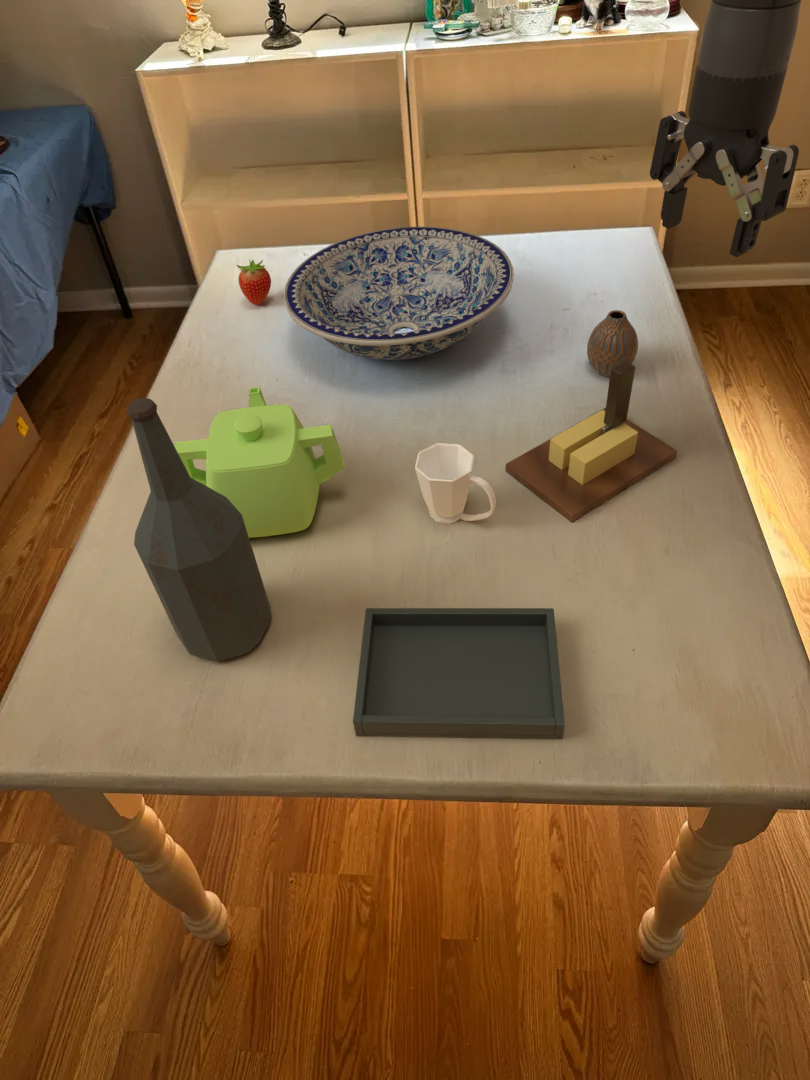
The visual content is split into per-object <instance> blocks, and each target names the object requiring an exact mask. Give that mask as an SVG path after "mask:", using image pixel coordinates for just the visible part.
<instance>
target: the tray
mask: <svg viewBox="0 0 810 1080" xmlns="http://www.w3.org/2000/svg"><path fill="white" fill-rule="evenodd" d="M555 618H556V617H555V610H554V608H551V607H549V608H548V607H456V608H455V607H365V612H364V622H363V630H362V638H361V647H360V656H359V664H358V665H359V666H358V673H357V683H356V694H355V701H354V710H353V717H352V724H353V728H354V732H355V736H356V737H401V738H403V737H404V738H406V737H407V738H408V737H409V738H412V737H413V738H471V739H472V738H478V739H479V738H480V739H481V738H482V739H537V740H538V739H540V740H544V739H545V740H546V739H547V740H563V738H564V730H565V716H564V715H565V714H564V704H563V694H562V684H561V682H562V681H561V673H560V663H559V653H558V652H559V649H558V640H557V629H556V621H555V620H556V619H555Z"/></svg>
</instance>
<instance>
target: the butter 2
mask: <svg viewBox="0 0 810 1080" xmlns="http://www.w3.org/2000/svg"><path fill="white" fill-rule="evenodd" d="M637 437H638V432H637V431H636V430H634V429H633V428H631V427H629V426H628V425H626V424H625V423H622V424H620V425H618V426H617V427H615V428H613V429H612V430H610V431H608V432H606V433H605V434H603V435H601V436H599V437H598V438H596V439H594V440H593V441H591V442H589V443H587V444H586V445H584V446H582V447H581V448H579V449H577V450H575V451H574V452H572V453H570V462H569V471H568V475H569V476H570V477H572V478H573V479H575V480H576V481H577V482H579V483H580V484H581V485H584V484H585V483H587V482H589V481H590V480H592V479H594V478H595V477H597V476H599V475H600V474H602V473H604V472H605V471H607V470H608V469H610V468H612V467H613V466H615V465H617V464H618V463H620V462H622V461H623V460H625V459H627V458H628V457H630V456H632V455H633V454H634V453H635V448H636V442H637Z"/></svg>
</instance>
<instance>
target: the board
mask: <svg viewBox="0 0 810 1080" xmlns="http://www.w3.org/2000/svg"><path fill="white" fill-rule="evenodd" d="M605 409H606V407H604V408H602V409H601V410H604V411H605ZM598 412H599V411H597V412H596V413H598ZM596 413H594V414H596ZM591 416H592V415H590V416H588V417H587V418H589V417H591ZM584 420H585V419H583V420H581V421H580V422H582V421H584ZM580 422H578V423H580ZM575 425H576V424H574V425H572V426H571V427H573V426H575ZM626 425H628V426H629V427H631V428H633V429H634V430H636V431H637V432H638V437H637V442H636V448H635V453H634V454H633V455H632V456H630V457H628V458H627V459H625V460H623V461H622V462H620V463H618V464H617V465H615V466H613V467H612V468H610V469H608V470H607V471H605V472H604V473H602V474H600V475H599V476H597V477H595V478H594V479H592V480H590V481H589V482H587V483H585V484H584V485H581V484H580V483H579V482H577V481H576V480H575V479H573V478H572V477H570V476H569V475H568V471H569V467H567V468H565V469H564V470H561V469H560V468H558V467H557V466H556V465H554V464H553V463H551V462H550V461H549V450H550V439H552V438H553V437H551V438H549V439H547V440H546V441H544V442H542V443H540V444H539V445H537V446H534V447H533V448H532V449H529V450H528V451H526V452H525V453H523V454H521V455H519V456H518V457H515V458H514V459H512V460H510V461H508V462H507V463H506V464H505V470H504V471H505V472H506V473H508V474H509V475H510V476H511V477H513V478H514V479H515V480H517V482H519V483H520V484H522V485H523V486H524V487H526V488H527V489H528V490H529V491H531V492H532V493H533V494H535V495H536V496H537V497H538V498H540V499H541V500H542V501H544V503H546V504H547V505H548V506H550V507H551V508H552V509H554V510H555V511H556V512H558V513H559V514H561V516H563V517H564V518H565V519H567V520H568V521H570V522H571V523H574V522H575V521H577V520H579V519H580V518H582V517H583V516H585V515H586V514H588V513H589V512H591V511H593V510H595V509H596V508H598V507H599V506H601V505H602V504H604V503H606V502H608V501H609V500H610V499H612V498H614V497H615V496H617V495H618V494H620V493H622V492H624V491H625V490H627V489H628V488H630V487H631V486H633V485H634V484H636V483H637V482H640V481H641V480H642V479H644V478H646V477H648V476H649V475H651V474H652V473H654V472H655V471H657V470H659V469H660V468H661V467H664V466H665V465H666V464H668V463H670V462H672V461H673V460H675V459H676V458H677V455H678V450H677V449H676V448H674V447H672V446H671V445H669V444H668V443H666V442H664V441H663V440H662V439H659V438H658V437H657V436H655V435H653V434H652V433H650V432H649V431H647V430H645V429H644V428H643V427H641V426H639V425H638V424H636V423H634V422H633V421H631V420H629V419H628V418H627V421H626ZM568 429H569V428H567V429H565V430H564V431H566V430H568ZM564 431H562V432H564ZM562 432H560V433H559V434H561V433H562ZM559 434H556V435H555V436H557V435H559Z"/></svg>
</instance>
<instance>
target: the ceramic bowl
mask: <svg viewBox="0 0 810 1080" xmlns="http://www.w3.org/2000/svg"><path fill="white" fill-rule="evenodd" d="M514 280H515V272H514V266H513V264H512V261H511V260H510V258H509V256H508V255H507V253H506V252H505V251H504V250H503V249H502V248H501V247H500V246H498V245H496V244H495V243H494V242H492V241H490V240H488V239H487V238H484V237H482V236H479V235H477V234H474V233H471V232H467V231H463V230H459V229H453V228H447V227H439V226H438V227H437V226H402V227H393V228H392V227H391V228H385V229H379V230H373V231H370V232H369V231H368V232H364V233H361V234H358V235H354V236H350V237H347V238H344V239H342V240H339V241H337V242H334V243H332V244H330V245H328V246H326V247H324V248H322V249H319V251H317V252H315V253H314V254H312V255H311V256H308V257H307V258H306V259H305V260H304V261H303V262H302V263H300V264H299V265H297V267H296V268H294V270H293V272H292V273H291V274H290V276H289V277H288V279H287V281H286V283H285V287H284V290H283V302H284V304H283V305H284V307H285V309H286V311H287V313H288V314H289V316H290V318H291V319H292V320H293V321H294V322H295V323H296V325H298V326H300V327H301V328H303V329H304V330H306V331H307V332H309V333H311V334H313V335H315V336H318V337H320V338H322V339H324V340H325V341H326V342H327V343H329V344H330V345H333V346H335V347H336V348H338V349H340V350H342V351H344V352H346V353H349V354H353V355H354V356H358V357H362V358H366V359H373V360H378V361H379V360H380V361H400V360H401V361H402V360H409V359H410V360H411V359H416V358H421V357H424V356H428V355H432V354H434V353H437V352H440V351H442V350H444V349H447V348H449V347H451V346H452V345H454V344H456V343H457V342H459V341H461V340H462V339H464V338H465V337H467V336H468V335H469V334H470V333H471V332H473V330H475V329H476V328H477V327H478V326H479V325H480V324H481V323H482V321H483V320H484V319H485V318H487V317H488V316H489V315H490V314H491V313H493V312H494V311H495V310H496V309H497V308H498V307H500V306H501V305H502V304H503V303H504V301H505V300H506V299H507V297H508V296H509V294H510V292H511V290H512V288H513V285H514ZM401 328H402V329H403V328H410V329H413V330H412V331H406V332H398V333H397V332H396V333H394V332H395V330H398V329H401Z"/></svg>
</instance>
